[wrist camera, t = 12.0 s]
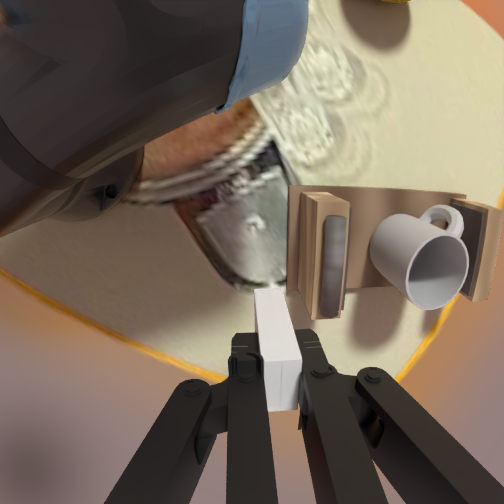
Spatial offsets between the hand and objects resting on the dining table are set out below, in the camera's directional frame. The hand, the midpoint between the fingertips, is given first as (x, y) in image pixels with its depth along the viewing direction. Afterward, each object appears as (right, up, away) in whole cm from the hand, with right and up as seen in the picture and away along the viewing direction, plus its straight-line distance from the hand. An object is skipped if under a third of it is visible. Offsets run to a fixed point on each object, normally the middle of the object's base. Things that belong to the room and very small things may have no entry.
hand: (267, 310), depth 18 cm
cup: (+16, +5, +15) cm, 22 cm away
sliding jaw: (+5, +4, +14) cm, 16 cm away
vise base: (+14, +5, +16) cm, 21 cm away
